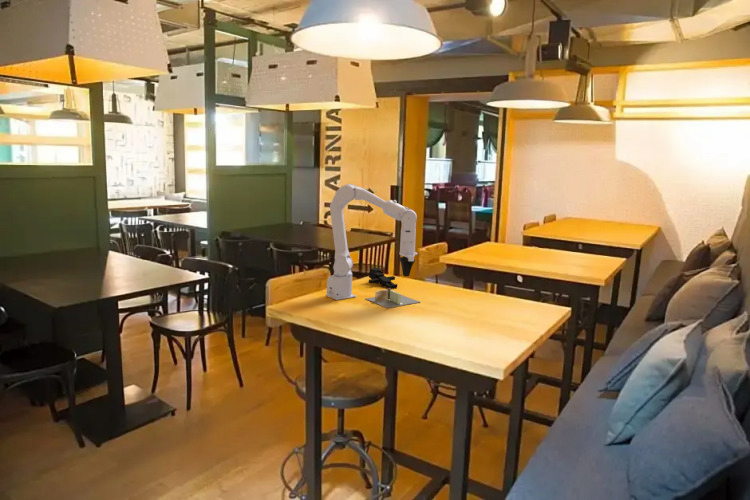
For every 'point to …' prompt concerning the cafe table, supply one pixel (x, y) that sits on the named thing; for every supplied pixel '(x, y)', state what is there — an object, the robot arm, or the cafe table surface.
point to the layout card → (391, 304)
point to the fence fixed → (382, 294)
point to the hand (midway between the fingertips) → (406, 275)
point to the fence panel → (395, 296)
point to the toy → (381, 278)
